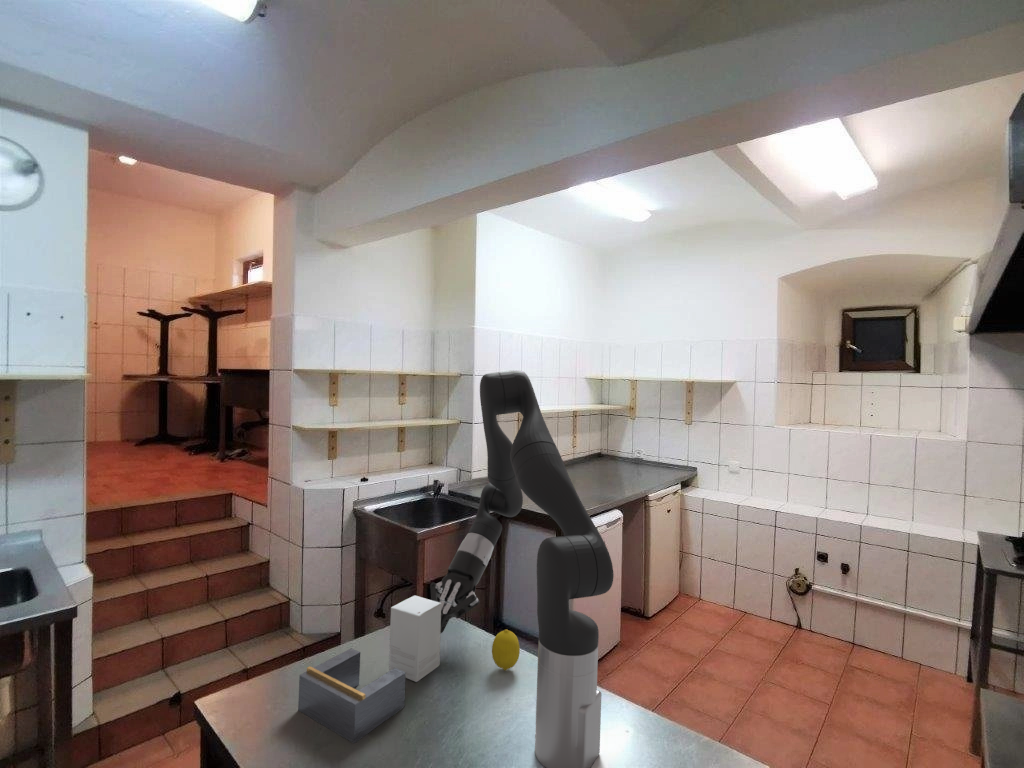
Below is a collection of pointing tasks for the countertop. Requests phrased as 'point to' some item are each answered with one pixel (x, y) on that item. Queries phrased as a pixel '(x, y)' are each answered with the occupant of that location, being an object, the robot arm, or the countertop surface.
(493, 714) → the countertop surface
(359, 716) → the cradle
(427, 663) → the supplement box
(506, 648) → the lemon
